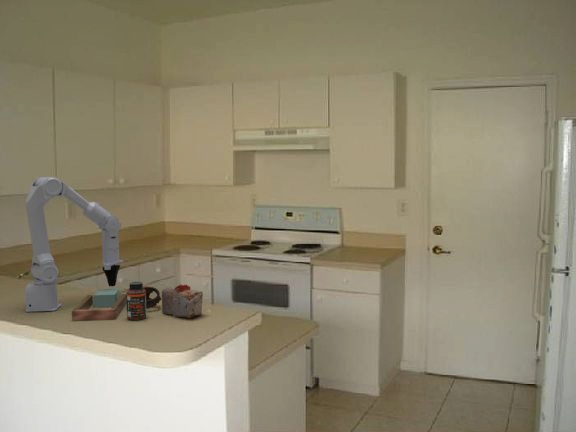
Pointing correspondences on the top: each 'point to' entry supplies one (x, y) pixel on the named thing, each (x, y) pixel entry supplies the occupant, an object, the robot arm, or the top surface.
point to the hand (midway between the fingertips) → (112, 285)
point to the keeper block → (106, 297)
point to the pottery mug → (150, 301)
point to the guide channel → (97, 310)
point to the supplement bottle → (136, 301)
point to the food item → (182, 301)
